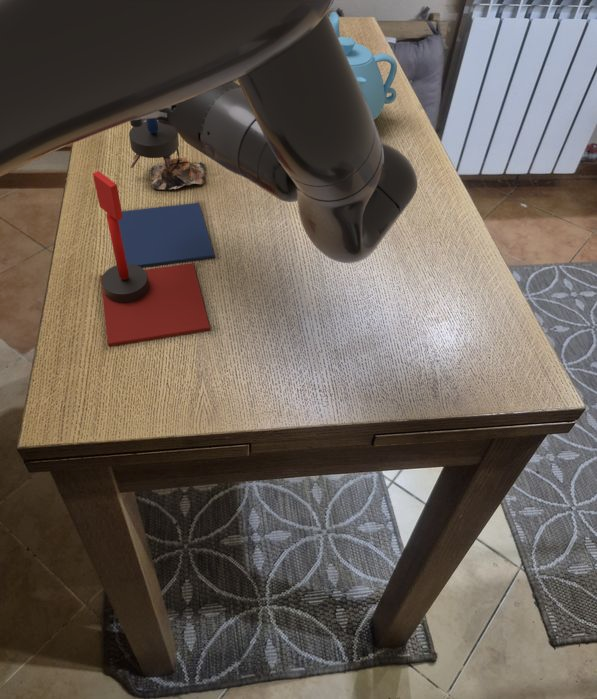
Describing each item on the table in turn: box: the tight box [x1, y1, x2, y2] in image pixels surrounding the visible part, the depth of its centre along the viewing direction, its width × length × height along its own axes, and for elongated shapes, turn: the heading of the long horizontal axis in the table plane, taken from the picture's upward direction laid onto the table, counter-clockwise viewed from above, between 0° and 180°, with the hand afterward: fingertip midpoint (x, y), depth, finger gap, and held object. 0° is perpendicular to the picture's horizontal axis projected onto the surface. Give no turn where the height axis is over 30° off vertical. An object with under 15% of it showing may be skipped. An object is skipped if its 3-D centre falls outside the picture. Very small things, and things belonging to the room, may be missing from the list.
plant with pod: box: [129, 119, 208, 191], centre depth 88 cm, size 8×11×20 cm
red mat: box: [99, 262, 211, 347], centre depth 77 cm, size 12×12×1 cm
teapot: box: [329, 11, 398, 121], centre depth 104 cm, size 16×20×14 cm
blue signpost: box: [128, 118, 180, 159], centre depth 67 cm, size 6×6×16 cm
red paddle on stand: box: [92, 170, 149, 303], centre depth 72 cm, size 6×6×16 cm
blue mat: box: [118, 202, 215, 269], centre depth 86 cm, size 12×12×1 cm
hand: (129, 64), depth 68 cm, fingers closed on blue signpost, 1 cm apart
